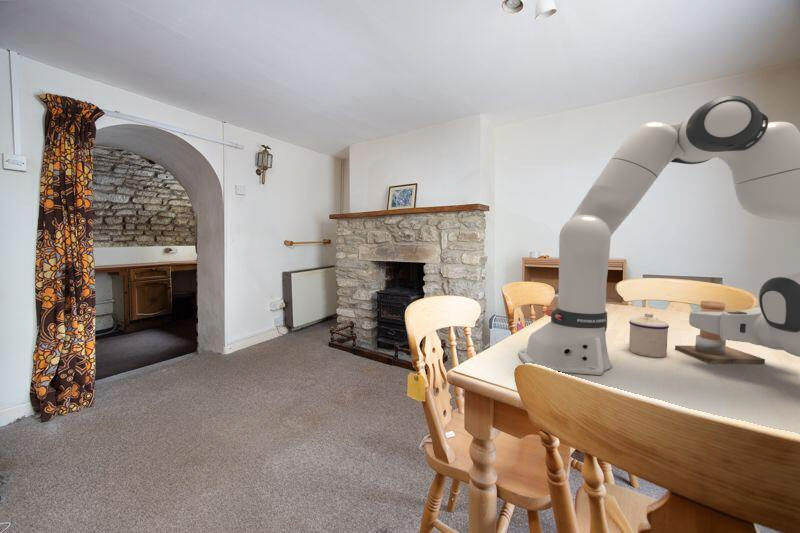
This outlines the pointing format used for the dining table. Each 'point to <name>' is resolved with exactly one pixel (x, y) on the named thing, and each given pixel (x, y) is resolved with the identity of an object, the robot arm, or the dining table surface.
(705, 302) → the peach lidded canister
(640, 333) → the teacup with lid
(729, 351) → the stud board
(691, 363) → the dining table surface
